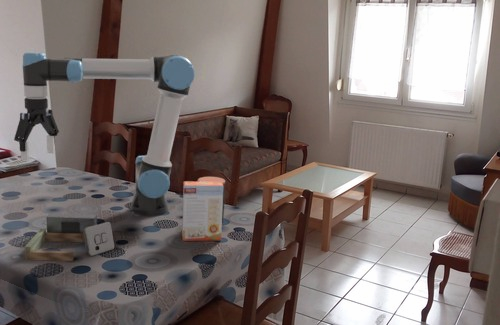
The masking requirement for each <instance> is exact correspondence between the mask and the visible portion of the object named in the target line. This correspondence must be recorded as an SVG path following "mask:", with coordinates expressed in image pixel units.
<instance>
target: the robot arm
mask: <svg viewBox="0 0 500 325" xmlns="http://www.w3.org/2000/svg"><path fill="white" fill-rule="evenodd" d="M46 55H47V54H46V53H44V52H25V53H23V55H22V76H23V89H24V90H23V93H24V97H25V98H24V109H26V113H25V112H20V114H19V121H18V125H17V127H16V131H15V135H14V139H13V140H14V141H16V142H18V143H19V151H20V160H21V161H26V162H27V161H30V155H29V154H30V151H29V141H28V139H29V136H30V134H31V133H32V130H33V129H34V127H36V125H41V126H42V128H43V129H44V131H45V132H46V133H47V134H48V135H46V151H47V153H48V154H52V155H53V154H55V153H56V151H55V150H56V149H55V148H56V147H55V143H56V139H55V136H58V134H59V133H60V131H59V128H58V125H57V123H56V119H55V116H54V114H53V110H52V109H50V108H48V107H49V102H48V82H71V83H74V82H75V83H76V82H82V81H83V79H85V80H86V79H87V80H89V79H93V80H94V79H96V80H97V79H98V80H99V79H102V80H105V79H106V80H111V79H112V80H113V79H114V80H150V81H151V82H154V83H155V82H156V83H157V88H156V89H157V90H158V92H159V98H158V102H157V108H156V112H155V116H154V121H153V126H152V130H151V134H150V140H149V144H148V147H147V148H148V149H147V154H145V155H138V156H137V157H136V158H135V162H134V164H135V192H134V196H133V198H132V201H131V202H130V211H131V212H132V213H133V214H136V215H139V216H157V215H158V216H159V215H162V214H165V213H167V212H168V210H169V204H168V201H167V198H166V193H167V192H168V190H169V189H170V185H171V181H170V175H171V171H172V166H173V164H172V162H171V161H170V159H171V154H172V149H173V145H174V141H175V136H176V131H177V126H178V122H179V117H180V113H181V109H182V105H183V101H184V99H185V98H187V97H188V95H189V92H190V88H191V86H192V83H193V82H194V80H195V74H196V73H195V68H194V66H193V64H192V62H191V61H190V59H188V58H187V57H184V56H182V55H178V54H172V55H163V56H151V58H149V59H148V58H147V59H145V58H144V59H142V58H139V59H135V58H78V57H77V58H74V57H73V58H72V57H64V58H61V59H51V58H50V59H49V58H47V56H46Z"/></svg>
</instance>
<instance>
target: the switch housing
mask: <svg viewBox="0 0 500 325" xmlns="http://www.w3.org/2000/svg"><path fill="white" fill-rule="evenodd" d="M97 217H98V214H86V213H85V214H84V213H81V214H80V213H63V212H62V213H59V212H58V213H57V212H50V213H49V214H48V215H46V232H48V233H77V234H79V233H81V234H83V230H84V229H86V228H87V227H90V226H94V225H98V218H97Z"/></svg>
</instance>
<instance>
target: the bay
mask: <svg viewBox="0 0 500 325" xmlns="http://www.w3.org/2000/svg"><path fill="white" fill-rule="evenodd" d="M45 242H63V243H64V242H66V243H67V242H68V243H85V241H84V236H83V234H81V233H79V234H77V233H48V232H47V228H41V229H40V230H39V231H38V232H37V233H35V235H34V236H33V237H31V239H30V240H29V241H28V243H27V244H26V245H25V246H24V256H25V260H27V261H28V260H29V261H31V260H32V261H66V262H72V261H74V258H75V252H74V251H71V250H70V251H68V250H39V249H40V248H42V246H43V245H44V243H45Z"/></svg>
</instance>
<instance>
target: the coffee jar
mask: <svg viewBox="0 0 500 325" xmlns="http://www.w3.org/2000/svg"><path fill="white" fill-rule="evenodd" d="M197 182H222V184H223V186H224V187H223V209H222V225H223V224H224V216H225V214H224V213H225V199H226V198H225V196H226V195H225V194H226V187H225V185H226V180H225V179H224V178H222V177H219V176H203V177H199V178H198V179H197Z"/></svg>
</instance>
